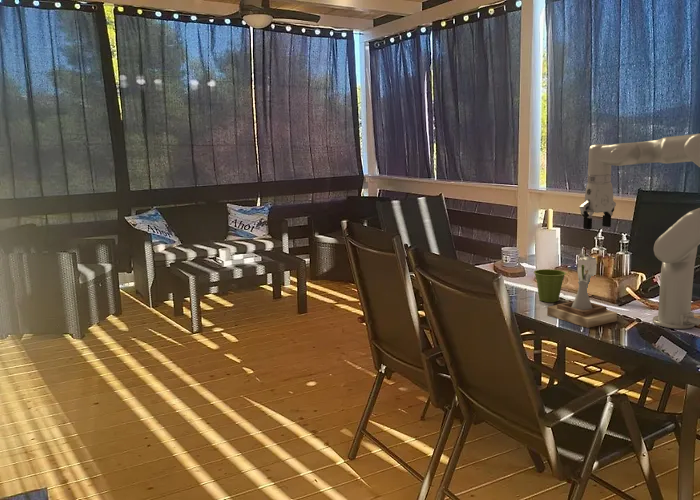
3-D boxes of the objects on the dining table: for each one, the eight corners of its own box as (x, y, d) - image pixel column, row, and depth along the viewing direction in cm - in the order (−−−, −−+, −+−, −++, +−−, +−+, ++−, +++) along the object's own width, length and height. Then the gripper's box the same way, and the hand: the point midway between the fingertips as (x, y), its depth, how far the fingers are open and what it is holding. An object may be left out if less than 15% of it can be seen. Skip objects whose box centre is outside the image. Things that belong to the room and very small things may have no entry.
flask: (571, 311, 211) (572, 283, 210) (570, 306, 218) (571, 279, 216) (593, 313, 209) (595, 284, 207) (592, 307, 216) (593, 279, 214)
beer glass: (597, 296, 241) (599, 259, 238) (580, 297, 241) (581, 260, 238) (591, 292, 248) (592, 256, 245) (574, 292, 248) (575, 256, 245)
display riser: (616, 321, 209) (617, 308, 209) (587, 327, 203) (588, 314, 202) (575, 309, 225) (575, 297, 224) (547, 314, 219) (547, 302, 218)
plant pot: (571, 303, 233) (572, 274, 231) (542, 305, 231) (543, 276, 229) (554, 295, 245) (555, 268, 243) (527, 297, 242) (528, 270, 240)
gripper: (590, 181, 208) (588, 231, 211) (624, 178, 216) (622, 226, 219) (573, 180, 215) (571, 229, 218) (607, 177, 222) (605, 224, 226)
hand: (597, 227), depth 218 cm, fingers open, 9 cm apart
